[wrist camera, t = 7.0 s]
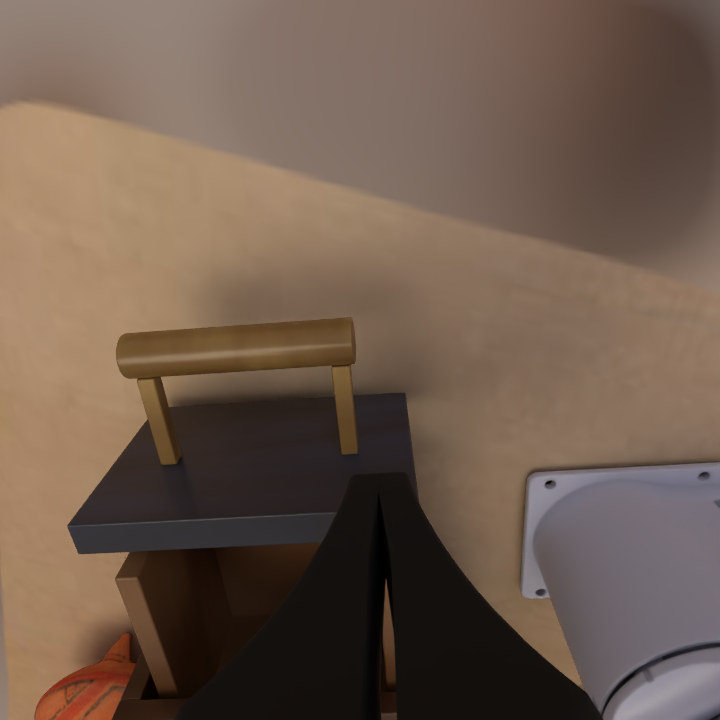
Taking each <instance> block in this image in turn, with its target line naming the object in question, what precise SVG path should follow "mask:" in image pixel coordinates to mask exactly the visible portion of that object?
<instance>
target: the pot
mask: <svg viewBox="0 0 720 720" xmlns="http://www.w3.org/2000/svg"><path fill="white" fill-rule="evenodd" d="M130 638H131V635H130V634H128V633H125V634H123V635H122V636H121V638H120V639H119V640H118V641H117V642H116V643H115V644H114V645H113V646H112V648H111V649H110V650H109V652H108V653H107V654H106V656H105V657H104V659H103V660H102V661H101V662H100V663H98V664H94V665H90V666H87V667H85V668H82V669H80V670H78V671H76V672H74V673H72V674H70V675H68V676H67V677H65V678H63V679H62V680H60V681H59V682H58V683H56V684H55V685H54V686H53V687H51V688H50V689H49V690H48V691H47V692H46V693H45V694H44V695H43V697H42V698H41V699H40V701H39V703H38V705H37V707H36V711H35V720H112V717H113V715H114V713H115V710H116V708H117V706H118V704H119V701H121V697H122V695H123V692H124V690H125V688H126V685H127V683H128V681H129V679H130V676H131V674H132V672H133V669H134V667H135V665H136V663H132V662H131V661H130Z"/></svg>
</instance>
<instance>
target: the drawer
mask: <svg viewBox="0 0 720 720" xmlns="http://www.w3.org/2000/svg"><path fill="white" fill-rule="evenodd" d="M116 358H117V364H118V367H119V370H120V372H121V373H122V375H123V376H124V377H126V378H128V379H134V378H138V379H137V383H138V387H139V390H140V394H141V397H142V400H143V404H144V407H145V411H146V414H147V418H148V419H147V421H146V422H145V423H144V425H143V426H142V427H141V429H140V430H139V431H138V433H137V434H136V435H135V436H134V438H133V439H132V440H131V442H130V443H129V444H128V446H127V447H126V448H125V450H124V451H123V452H122V454H121V455H120V456H119V458H118V459H117V460H116V462H115V463H114V464H113V466H112V467H111V468H110V470H109V471H108V472H107V474H106V475H105V476H104V478H103V479H102V480H101V482H100V483H99V484H98V486H97V487H96V488H95V490H94V491H93V492H92V494H91V495H90V496H89V498H88V499H87V500H86V502H85V503H84V504H83V505H82V507H81V508H80V509H79V511H78V512H77V513H76V515H75V516H74V517H73V519H72V520H71V521H70V523H69V524H68V529H69V532H70V534H71V537H72V539H73V542H74V544H75V547H76V549H77V551H78V554H94V553H115V552H130V553H129V555H128V556H127V558H126V560H125V562H124V563H123V565H122V567H121V569H120V571H119V572H118V574H117V576H116V578H115V581H116V583H117V586H118V588H119V591H120V594H121V596H122V599H123V602H124V604H125V607H126V609H127V612H128V615H129V617H130V620H131V623H132V625H133V628H134V630H135V633H136V636H137V638H138V641H139V644H140V646H141V649H142V651H143V654H144V657H145V659H146V662H147V665H148V667H149V670H150V672H151V675H152V678H153V680H154V683H155V686H156V688H157V691H158V693H159V696H160V699H182V698H191V697H192V696H193V695H194V694H195V693H197V692H198V691H199V690H200V689H201V688H202V687H203V686H204V685H205V684H206V683H208V682H209V681H210V680H211V679H212V678H213V677H214V676H215V675H216V674H218V673H219V672H220V671H221V670H222V669H223V668H224V667H225V666H226V665H227V664H228V663H229V662H230V661H231V660H232V659H233V658H234V657H235V656H236V655H237V653H238V652H239V651H240V650H241V649H242V648H243V647H244V646H245V645H246V644H247V643H248V642H249V641H250V640H251V639H252V638H253V637H254V636H255V634H256V633H257V632H258V631H259V630H260V629H261V628H262V627H263V625H264V624H265V623H266V622H267V621H268V620H269V618H270V617H271V616H272V615H273V613H274V612H275V611H276V609H277V608H278V607H279V606H280V604H281V603H282V602H283V601H284V599H285V598H286V597H287V595H288V594H289V593H290V591H291V590H292V589H293V587H294V586H295V584H296V583H297V581H298V580H299V579H300V577H301V576H302V574H303V573H304V571H305V569H306V568H307V566H308V565H309V563H310V562H311V560H312V558H313V556H314V555H315V553H316V551H317V550H318V548H319V546H320V544H321V543H322V541H323V539H324V537H325V536H326V534H327V532H328V530H329V528H330V526H331V524H332V522H333V520H334V518H335V516H336V514H337V511H338V509H339V507H340V504H341V502H342V500H343V497H344V495H345V492H346V489H347V486H348V483H349V479H350V478H351V477H352V476H353V475H354V474H371V473H388V472H405V473H406V474H407V475H409V479H410V483H411V486H412V488H413V491H414V493H415V495H416V498H417V500H418V502H419V498H418V490H417V482H416V474H415V466H414V458H413V450H412V442H411V434H410V426H409V418H408V410H407V402H406V394H405V393H404V392H403V393H387V394H372V395H356V396H354V392H353V382H352V372H351V364H355V362H356V344H355V331H354V323H353V319H352V318H351V317H350V318H336V319H322V320H308V321H294V322H280V323H266V324H252V325H237V326H223V327H209V328H195V329H181V330H167V331H153V332H139V333H126V334H123V335H122V336H121V337H120V338H119V340H118V343H117V348H116ZM331 365H332V368H331V369H332V377H333V386H334V395H335V397H324V398H308V399H292V400H276V401H260V402H244V403H229V404H213V405H197V406H181V407H169V406H168V402H167V399H166V395H165V391H164V388H163V384H162V380H161V377H164V376H180V375H195V374H210V373H225V372H240V371H255V370H270V369H285V368H300V367H316V366H331ZM381 692H396V675H395V646H394V632H393V625H392V618H391V611H390V604H389V596H388V589H387V582H386V584H385V603H384V621H383V639H382V657H381Z"/></svg>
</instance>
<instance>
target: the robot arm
mask: <svg viewBox="0 0 720 720" xmlns="http://www.w3.org/2000/svg"><path fill="white" fill-rule="evenodd" d="M703 472H704V474H702V475H700V476H699V474H701V473H703ZM549 480H553V481H552V482H551V483H549V484H545V483H546V482H547V481H549ZM386 582H387V589H388V596H389V604H390V611H391V618H392V625H393V632H394V646H395V675H396V706H397V720H720V462H714V463H696V464H677V465H659V466H640V467H622V468H603V469H585V470H567V471H548V472H536V473H533V474H531V475H530V476H529V477H528V478H527V482H526V497H525V513H524V529H523V545H522V561H521V577H520V591H521V594H522V596H523V597H525V598H528V599H537V598H550V599H551V601H552V604H553V607H554V609H555V612H556V615H557V617H558V620H559V623H560V625H561V628H562V631H563V633H564V636H565V639H566V641H567V644H568V647H569V649H570V652H571V655H572V657H573V660H574V663H575V665H576V668H577V671H578V673H579V676H580V679H581V681H582V684H583V687H584V689H585V691H584V690H582V689H581V688H580V687H579V686H577V685H576V684H575V683H574V682H572V681H571V680H570V679H569V678H567V677H566V676H565V675H564V674H562V673H561V672H560V671H559V670H558V669H556V668H555V667H554V666H553V665H552V664H550V663H549V662H548V661H547V660H546V659H545V658H544V657H542V656H541V655H540V654H539V653H538V652H537V651H536V650H535V649H534V648H533V647H531V646H530V645H529V644H528V643H527V642H526V641H525V640H524V639H523V638H522V637H521V636H520V635H519V634H518V633H517V632H516V631H515V630H514V629H513V628H512V627H511V626H510V625H509V624H508V623H507V622H506V621H505V620H504V619H503V618H502V617H501V616H500V615H499V614H498V613H497V612H496V611H495V610H494V609H493V608H492V607H491V606H490V605H489V603H488V602H487V601H486V600H485V599H484V598H483V597H482V595H481V594H480V593H479V592H478V591H477V590H476V588H475V587H474V586H473V585H472V583H471V582H470V581H469V580H468V579H467V577H466V576H465V575H464V573H463V572H462V571H461V570H460V568H459V567H458V565H457V564H456V563H455V561H454V560H453V559H452V557H451V556H450V554H449V553H448V551H447V550H446V548H445V547H444V545H443V544H442V542H441V541H440V539H439V538H438V536H437V535H436V533H435V531H434V529H433V528H432V526H431V524H430V523H429V521H428V519H427V517H426V516H425V514H424V512H423V510H422V508H421V506H420V504H419V502H418V500H417V498H416V495H415V493H414V491H413V488H412V486H411V483H410V479H409V475H407V474H406V473H405V472H388V473H371V474H354V475H353V476H352V477H351V478H350V479H349V483H348V486H347V489H346V492H345V495H344V497H343V500H342V502H341V504H340V507H339V509H338V511H337V514H336V516H335V518H334V520H333V522H332V524H331V526H330V528H329V530H328V532H327V534H326V536H325V537H324V539H323V541H322V543H321V544H320V546H319V548H318V550H317V551H316V553H315V555H314V556H313V558H312V560H311V562H310V563H309V565H308V566H307V568H306V569H305V571H304V573H303V574H302V576H301V577H300V579H299V580H298V581H297V583H296V584H295V586H294V587H293V589H292V590H291V591H290V593H289V594H288V595H287V597H286V598H285V599H284V601H283V602H282V603H281V604H280V606H279V607H278V608H277V609H276V611H275V612H274V613H273V615H272V616H271V617H270V618H269V620H268V621H267V622H266V623H265V624H264V625H263V627H262V628H261V629H260V630H259V631H258V632H257V633H256V634H255V636H254V637H253V638H252V639H251V640H250V641H249V642H248V643H247V644H246V645H245V646H244V647H243V648H242V649H241V650H240V651H239V652H238V653H237V655H236V656H235V657H234V658H233V659H232V660H231V661H230V662H229V663H228V664H227V665H226V666H225V667H224V668H223V669H222V670H221V671H220V672H219V673H218V674H216V675H215V676H214V677H213V678H212V679H211V680H210V681H209V682H208V683H206V684H205V685H204V686H203V687H202V688H201V689H200V690H199V691H198V692H197V693H195V694H194V695H193V696H192V697H191V698H190V699H189V700H188V701H187V702H185V703H184V704H183V705H182V706H181V707H179V709H178V711H177V713H176V715H175V717H174V719H173V720H381V657H382V639H383V621H384V603H385V584H386ZM538 589H539V590H538Z"/></svg>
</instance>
